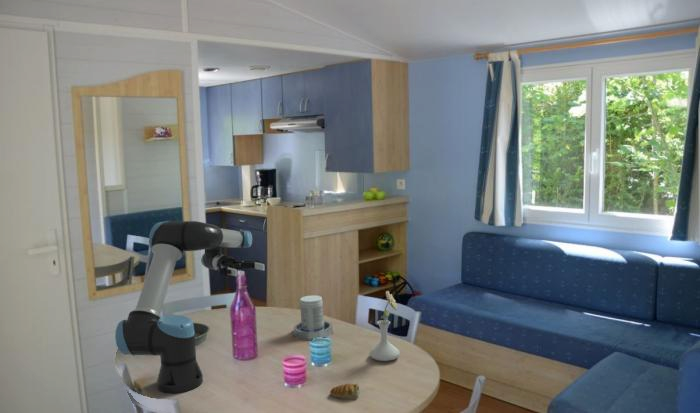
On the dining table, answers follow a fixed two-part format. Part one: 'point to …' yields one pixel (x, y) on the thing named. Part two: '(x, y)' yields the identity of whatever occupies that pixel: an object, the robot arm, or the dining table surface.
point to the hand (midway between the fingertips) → (250, 270)
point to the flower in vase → (385, 337)
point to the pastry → (346, 391)
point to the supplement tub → (312, 313)
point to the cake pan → (200, 332)
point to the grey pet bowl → (311, 335)
